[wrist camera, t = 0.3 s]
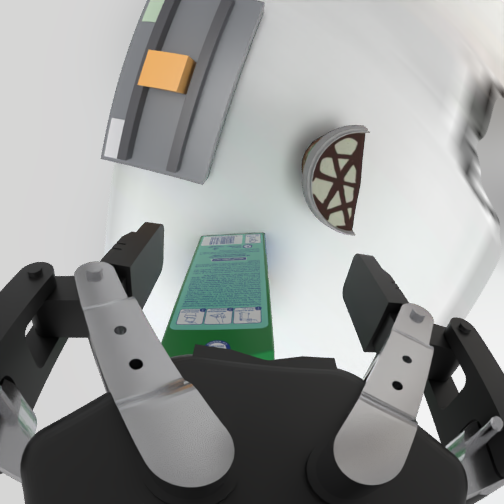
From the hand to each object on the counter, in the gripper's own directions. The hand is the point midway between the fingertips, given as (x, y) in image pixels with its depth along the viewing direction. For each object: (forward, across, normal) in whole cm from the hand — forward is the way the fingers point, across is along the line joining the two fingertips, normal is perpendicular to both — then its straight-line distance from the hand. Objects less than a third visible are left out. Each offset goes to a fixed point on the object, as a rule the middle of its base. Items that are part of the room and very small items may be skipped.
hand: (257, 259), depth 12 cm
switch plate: (+28, +11, -9) cm, 31 cm away
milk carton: (+28, +1, +16) cm, 32 cm away
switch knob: (+23, +11, -9) cm, 27 cm away
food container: (+28, -8, 0) cm, 29 cm away
